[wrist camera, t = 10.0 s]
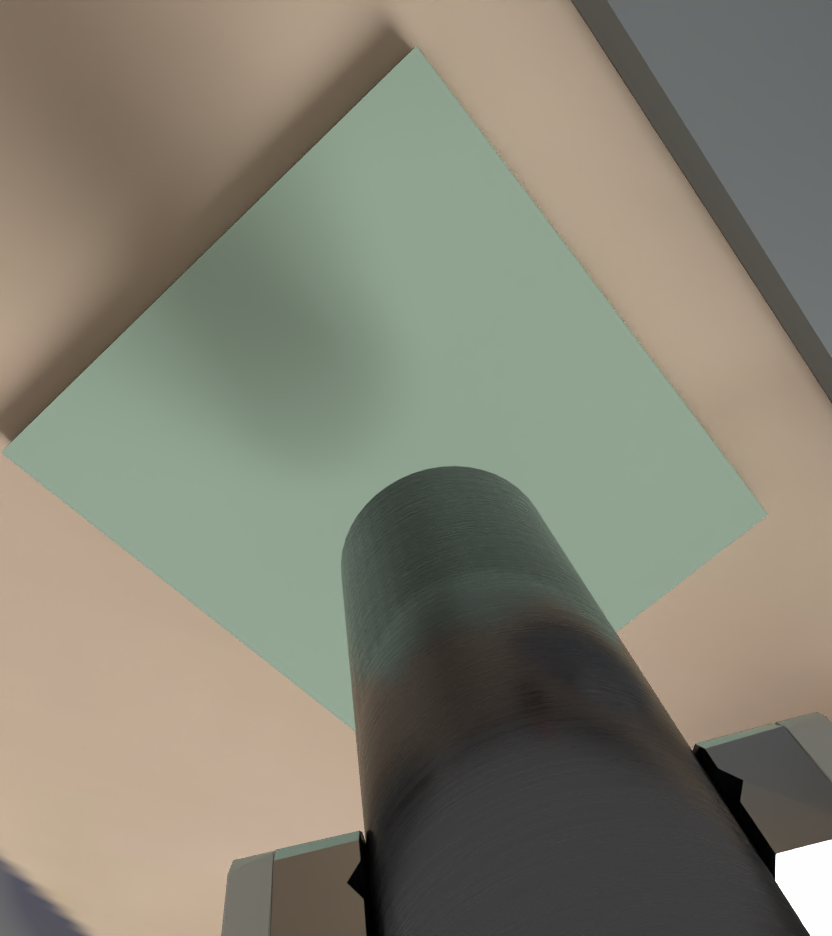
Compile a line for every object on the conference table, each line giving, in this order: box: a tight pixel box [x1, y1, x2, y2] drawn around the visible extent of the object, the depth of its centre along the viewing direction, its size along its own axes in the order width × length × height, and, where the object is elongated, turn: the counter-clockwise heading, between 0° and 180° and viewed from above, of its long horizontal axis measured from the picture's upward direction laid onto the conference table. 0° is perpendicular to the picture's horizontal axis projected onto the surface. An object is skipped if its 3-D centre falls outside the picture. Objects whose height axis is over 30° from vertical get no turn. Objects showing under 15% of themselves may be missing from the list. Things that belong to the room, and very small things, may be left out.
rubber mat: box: [1, 46, 768, 732], centre depth 19 cm, size 14×12×1 cm
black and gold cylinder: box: [341, 466, 811, 936], centre depth 10 cm, size 5×5×11 cm
